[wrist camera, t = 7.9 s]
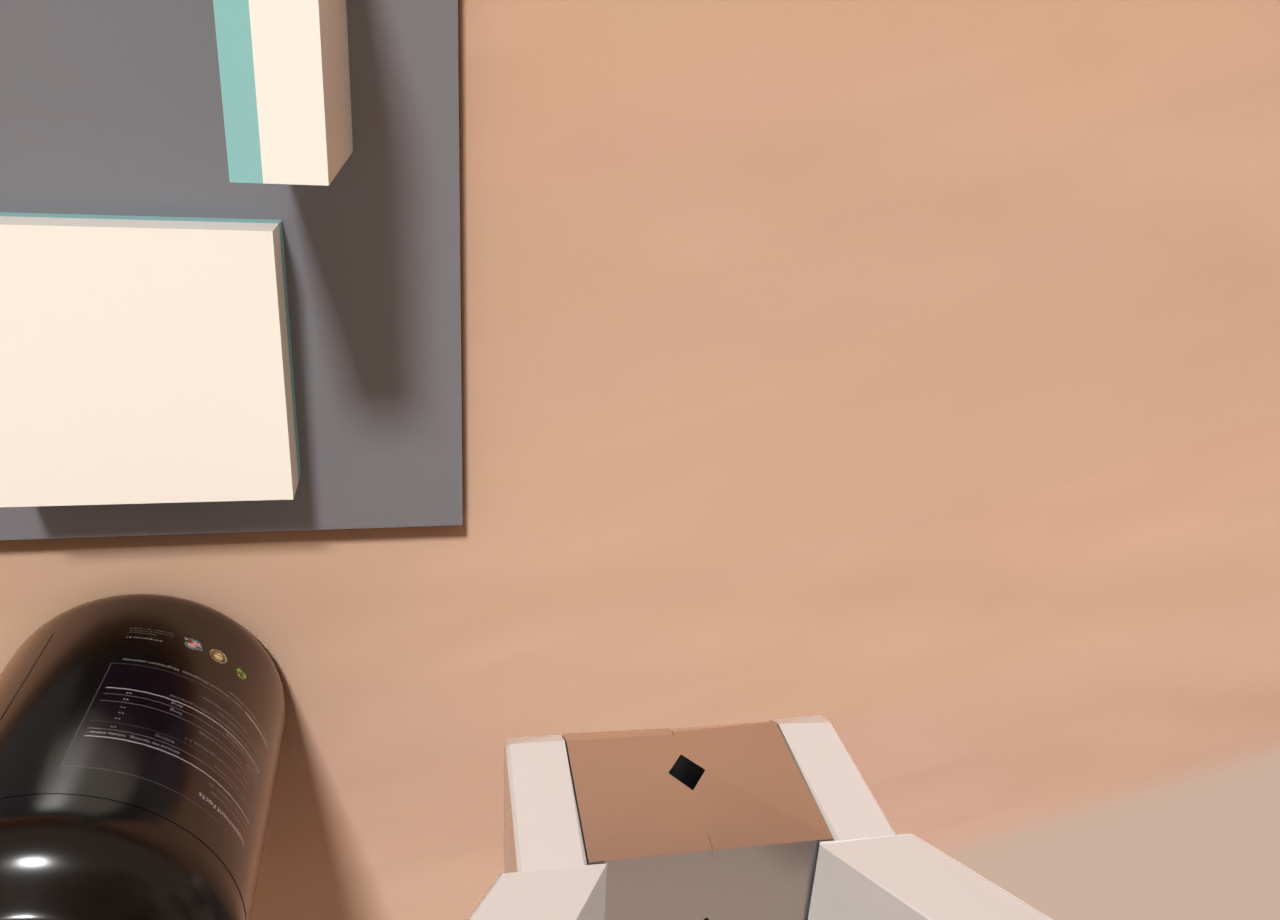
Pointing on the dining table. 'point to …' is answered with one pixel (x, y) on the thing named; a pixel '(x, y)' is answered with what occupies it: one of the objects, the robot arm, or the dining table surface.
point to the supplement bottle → (136, 764)
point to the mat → (312, 232)
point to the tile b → (284, 89)
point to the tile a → (144, 361)
